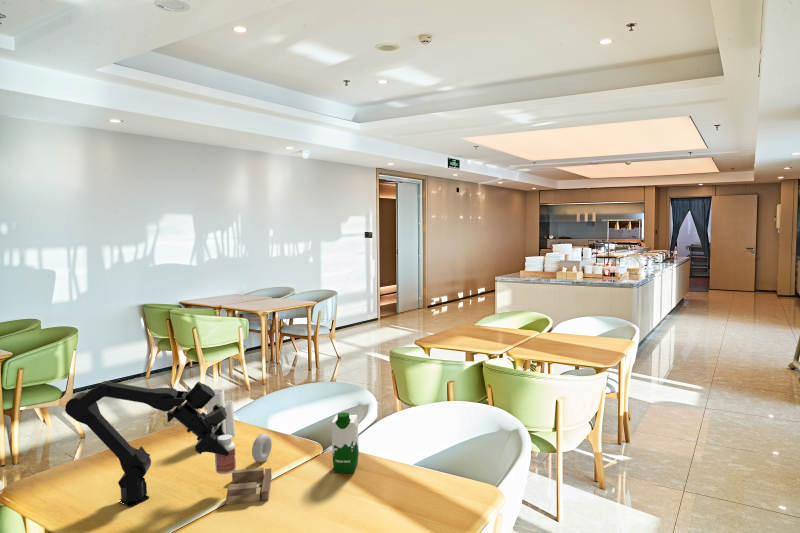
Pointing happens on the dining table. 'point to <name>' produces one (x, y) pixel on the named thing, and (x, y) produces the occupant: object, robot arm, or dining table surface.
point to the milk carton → (345, 443)
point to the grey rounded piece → (261, 447)
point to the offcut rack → (249, 486)
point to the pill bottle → (226, 462)
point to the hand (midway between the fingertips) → (229, 450)
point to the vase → (229, 409)
